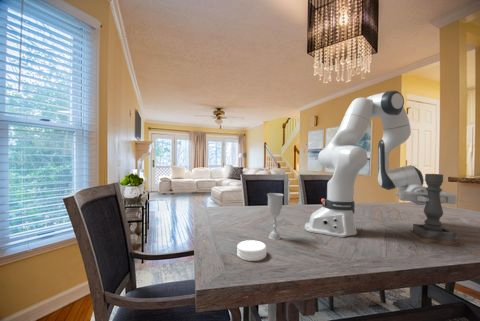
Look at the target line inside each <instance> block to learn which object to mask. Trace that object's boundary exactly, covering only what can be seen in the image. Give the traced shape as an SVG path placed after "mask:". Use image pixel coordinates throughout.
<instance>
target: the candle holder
mask: <svg viewBox="0 0 480 321" xmlns="http://www.w3.org/2000/svg"><path fill="white" fill-rule="evenodd" d="M424 175H425V176H424V181H425V182H424V183H425V184H426V187H427V188H426V190H427V191H428V198H429V202H426V204H425V205H424V208H423V213H424V215H425V217H426V219H425V220H424V223H423V224H422V225H423V229H425V230H428V231H440V232H443V227H444V226H443V223H442V222H441V221H440V220H441V217H442V216H443V215H444V210H443V208H442V204H441V203H440V192H441V191H442V190H443V189H442V188H441V186H442V185H443V183H444V174H440V173H425V174H424ZM441 226H442V227H441Z"/></svg>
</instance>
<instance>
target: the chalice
mask: <svg viewBox="0 0 480 321" xmlns="http://www.w3.org/2000/svg"><path fill="white" fill-rule="evenodd" d="M266 196H267V207H268V211H269V213H270V215H271V216H272V218H273V220H272V222H273V225H272V227H273V229H272V230H271V232H269V235H268V239H270V240H272V241H273V240H274V241H277V240H281V239H282V238H281V235H280V232H279V231H277V227H278V225H277V217H279V215H280V213H281V212H282V209H283V197H284V194H283V193H277V192H269V193H266Z"/></svg>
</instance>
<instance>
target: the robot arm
mask: <svg viewBox="0 0 480 321" xmlns="http://www.w3.org/2000/svg"><path fill="white" fill-rule="evenodd" d="M404 104H405V99H404V96H403V94H402V93H400V92H399V91H398V90H388V91H385V92H381V93H375V94H372V95H370V96H367V97H364V96H363V97H357V98H355V99H353V100H352V102H351V103H350V105H349V106H348V107H347V109H346V111H345V113H344V116H343V118H342V120H341V123H340V125H339V127H338V129H337V131H336V133H335V134H334V136H333V137H332V139H331V140H330V141H329V143H328V144H327V145H326V146H325V147H324V148H323V149H321V150H320V152H319V153H318V158H317V160H318V162H319V165H320V166H322V167H323V168H326V169H329V170H334V171H333V175H332V177H331V178H330V179H329V180H328V181H327V185H326V186H327V187H326V199H325V198H321V200H320V201H321V203H322V204H321V205H322V206H321V207H319V208H318V209H317V210H314V212H312V213H311V215H310V216H309V217H310V218H309V221H308V222H307V221H306V222H305V224H304V230H306V231H307V232H308V233H315V234H321V235H328V236H333V237H340V238H345V237H348V236H355V235H356V234H358V232H357V231H358V230H357V228H356V223H355V215H354V214H355V208H356V207H355V206H356V205H355V201H354V191H355V190H354V189H355V188H354V187H355V182H356V180H357V177H358V175H359V173H360V171H361V170H362V169H363V168H364V167H365V166H366V165H367V164H368V152H367V151H366V150H365V148H363V147H361V146H358V145H357V144H358V143H360V142H361V141H362V140H363V139H364V136H365V134H366V131H367V128H368V126H369V123H370V120H371V119H374V118H380V119H381V125H382V127H381V128H382V134H383V135H382V138H381V139H380V140H379V141H378V145H377V158H378V159H377V166H378V167H377V169H378V170H377V183H378V186H380V187H381V188H382V189H385V190H387V191H390V190H394V189H397V193H394V196H396V197H397V198H398V199H399V200H400V201H403V202H411V203H413V204H415V205H418V206H425V205H426V202H429V198H428V191H427V190H426V188H427V187H428V186H423V185H424V183H425V182H424V181H425V179H424V176H423V174H422V171H421V170H420V169H419V168H418V167H417V166H414V165H411V164H410V165H405V166H400V167H396V168H391V169H390V168H389V165H390V163H389V160H390V158H389V155H390V154H391V152H392V151H393V150H394V149H396V148H398V147H399V146H401V145H402V144H404V143H405V142H406V141H407V140H408V139H409V138H410V136H411V134H412V131H411V124H410V120H409V116H408V114H407V112H406V109H405V107H404V106H405V105H404ZM457 200H458V199H457V195H456V194H454V193H451V192H447V191H444V190H443V189H442V191H441V192H440V203H441V205H442V204H450V205H451V204H453V205H455V204H457V203H458V202H457Z"/></svg>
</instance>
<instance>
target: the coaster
mask: <svg viewBox="0 0 480 321" xmlns="http://www.w3.org/2000/svg"><path fill="white" fill-rule="evenodd" d="M236 248H237V249H236V252H237V257H238V258H239V259H241V260H244V261H249V262H257V261H258V262H259V261H261V260H264V259H265V258H266V257H267V245H266V244H265V243H264V242H262V241H260V240H253V239H251V240H250V239H248V240H243V241H240V242H239V243H238V244H237V245H236Z"/></svg>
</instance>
